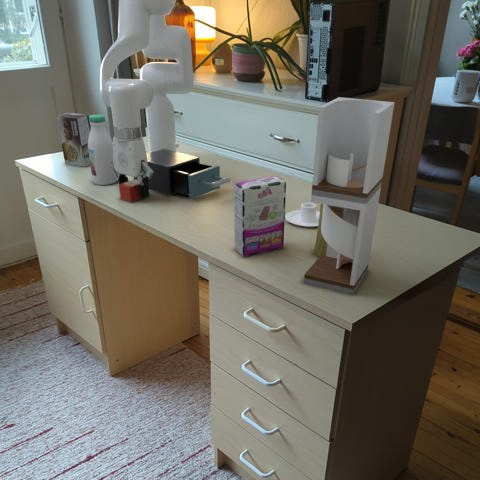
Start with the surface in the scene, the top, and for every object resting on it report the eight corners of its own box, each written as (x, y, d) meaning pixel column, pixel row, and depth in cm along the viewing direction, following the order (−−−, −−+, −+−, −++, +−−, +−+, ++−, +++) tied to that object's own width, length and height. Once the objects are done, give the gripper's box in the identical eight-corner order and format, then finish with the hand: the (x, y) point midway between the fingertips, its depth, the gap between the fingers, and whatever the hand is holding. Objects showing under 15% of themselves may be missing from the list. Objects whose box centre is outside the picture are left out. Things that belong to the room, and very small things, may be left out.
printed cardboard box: (96, 162, 183) (89, 114, 175) (84, 167, 178) (77, 118, 170) (76, 159, 187) (68, 112, 178) (64, 163, 182) (55, 115, 173)
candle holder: (277, 215, 142) (278, 200, 140) (315, 209, 146) (316, 194, 144) (298, 231, 133) (299, 215, 130) (338, 225, 137) (340, 209, 134)
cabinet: (200, 184, 164) (199, 157, 159) (169, 195, 155) (167, 167, 150) (165, 175, 172) (163, 148, 167) (134, 185, 163) (131, 157, 158)
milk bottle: (120, 178, 168) (113, 113, 158) (113, 186, 162) (105, 118, 151) (97, 177, 169) (88, 112, 158) (89, 185, 163) (79, 118, 152)
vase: (311, 248, 124) (317, 190, 116) (337, 248, 125) (343, 190, 117) (317, 259, 119) (323, 200, 111) (343, 259, 119) (351, 199, 112)
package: (120, 199, 152) (118, 184, 150) (138, 192, 157) (137, 178, 154) (131, 202, 150) (129, 187, 147) (148, 196, 154) (147, 181, 152)
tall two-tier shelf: (321, 261, 118) (338, 97, 99) (367, 271, 114) (394, 102, 95) (303, 282, 110) (319, 107, 91) (352, 294, 106) (379, 113, 87)
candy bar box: (273, 241, 128) (276, 174, 119) (284, 248, 124) (288, 181, 115) (232, 249, 123) (232, 181, 114) (242, 257, 120) (243, 188, 111)
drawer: (235, 192, 155) (235, 169, 151) (208, 203, 147) (207, 180, 143) (185, 178, 166) (184, 157, 162) (157, 188, 158) (155, 165, 154)
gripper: (97, 130, 145) (105, 191, 155) (139, 140, 136) (145, 204, 146) (118, 125, 150) (124, 184, 160) (159, 135, 141) (164, 197, 150)
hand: (134, 193), depth 153 cm, fingers open, 8 cm apart
